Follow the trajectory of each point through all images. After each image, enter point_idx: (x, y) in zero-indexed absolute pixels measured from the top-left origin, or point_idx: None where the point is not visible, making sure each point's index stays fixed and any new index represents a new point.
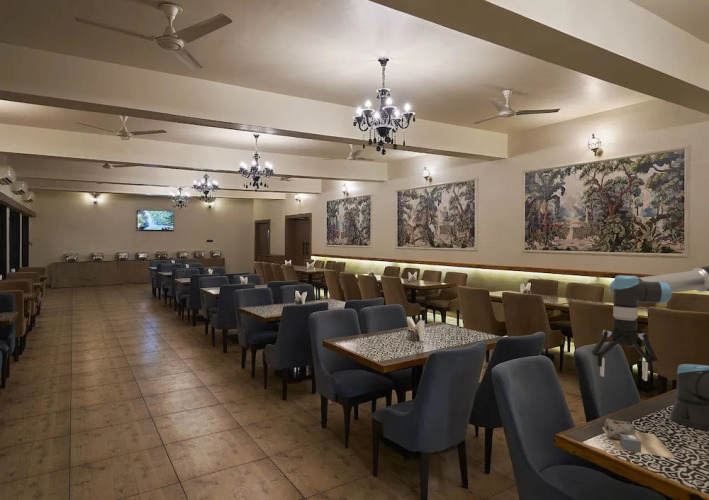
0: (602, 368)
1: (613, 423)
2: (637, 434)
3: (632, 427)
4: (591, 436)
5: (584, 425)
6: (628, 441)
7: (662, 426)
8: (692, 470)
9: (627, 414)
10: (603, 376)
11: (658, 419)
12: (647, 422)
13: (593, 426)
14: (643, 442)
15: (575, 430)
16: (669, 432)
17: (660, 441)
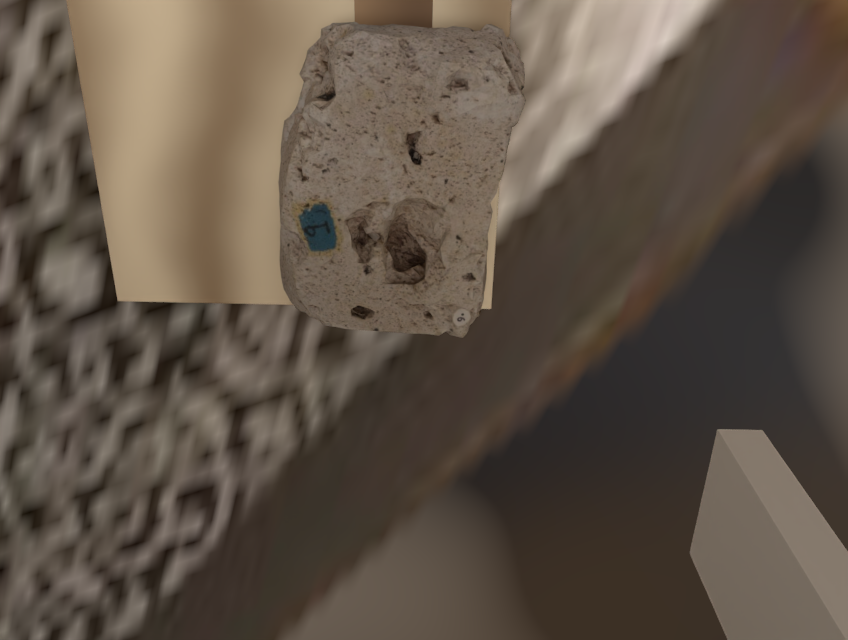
0: (834, 554)
1: (449, 206)
2: (247, 247)
3: (302, 138)
4: (630, 110)
5: (604, 338)
6: None
7: (33, 505)
8: None
9: (225, 636)
10: (727, 432)
11: (40, 614)
12: (121, 542)
13: (538, 340)
14: (238, 75)
15: (722, 202)
16: (3, 411)
17: (96, 155)
